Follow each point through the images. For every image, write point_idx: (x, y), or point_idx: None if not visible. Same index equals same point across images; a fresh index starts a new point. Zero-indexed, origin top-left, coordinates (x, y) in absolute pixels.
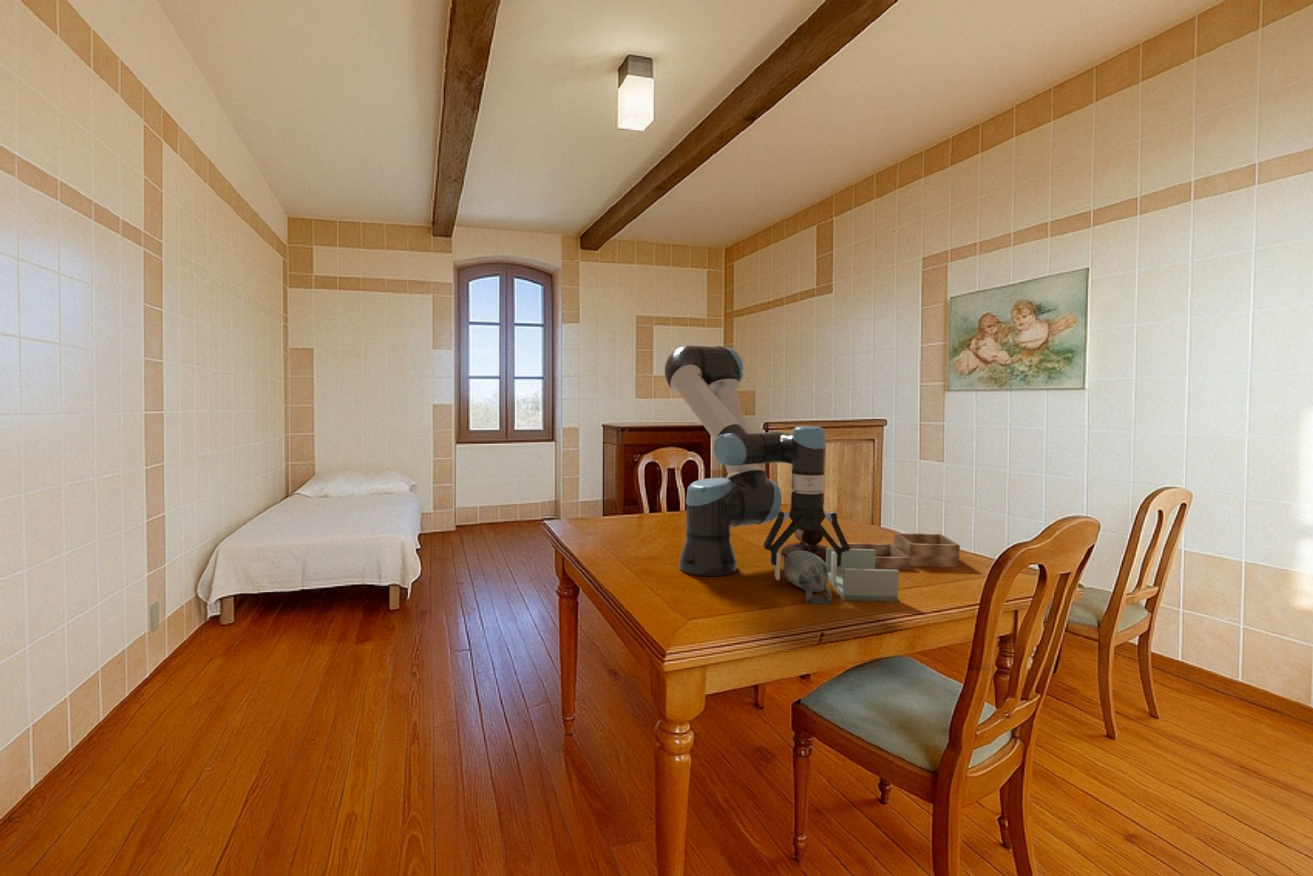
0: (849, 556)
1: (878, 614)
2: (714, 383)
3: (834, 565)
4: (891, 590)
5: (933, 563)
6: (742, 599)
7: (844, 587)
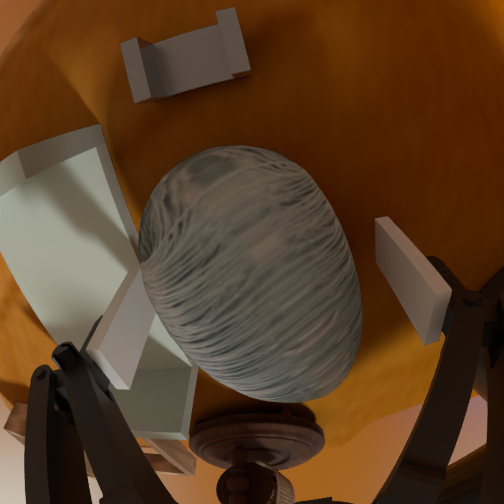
0: None
1: (14, 46)
2: None
3: (115, 307)
4: None
5: None
6: (475, 51)
7: (70, 132)
